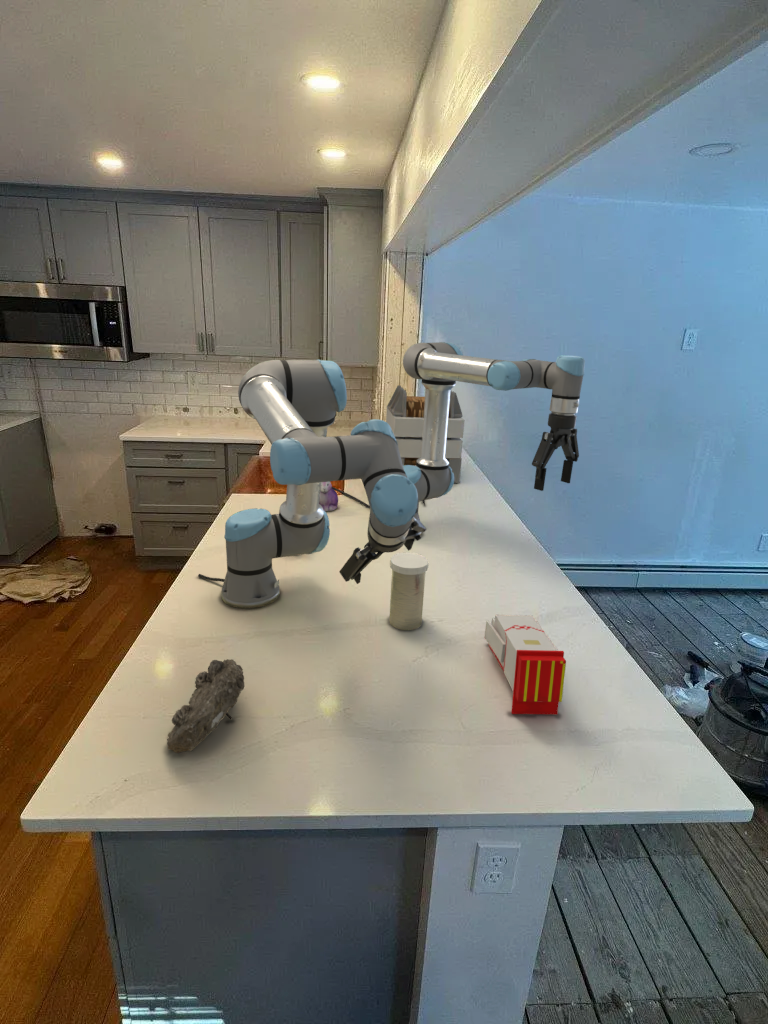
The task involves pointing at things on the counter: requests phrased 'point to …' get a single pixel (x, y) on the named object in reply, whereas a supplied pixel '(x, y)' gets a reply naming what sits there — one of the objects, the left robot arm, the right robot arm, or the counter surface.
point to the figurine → (328, 497)
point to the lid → (409, 563)
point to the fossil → (206, 705)
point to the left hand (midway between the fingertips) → (381, 561)
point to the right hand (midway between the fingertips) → (552, 485)
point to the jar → (406, 600)
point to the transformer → (408, 428)
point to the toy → (527, 663)
